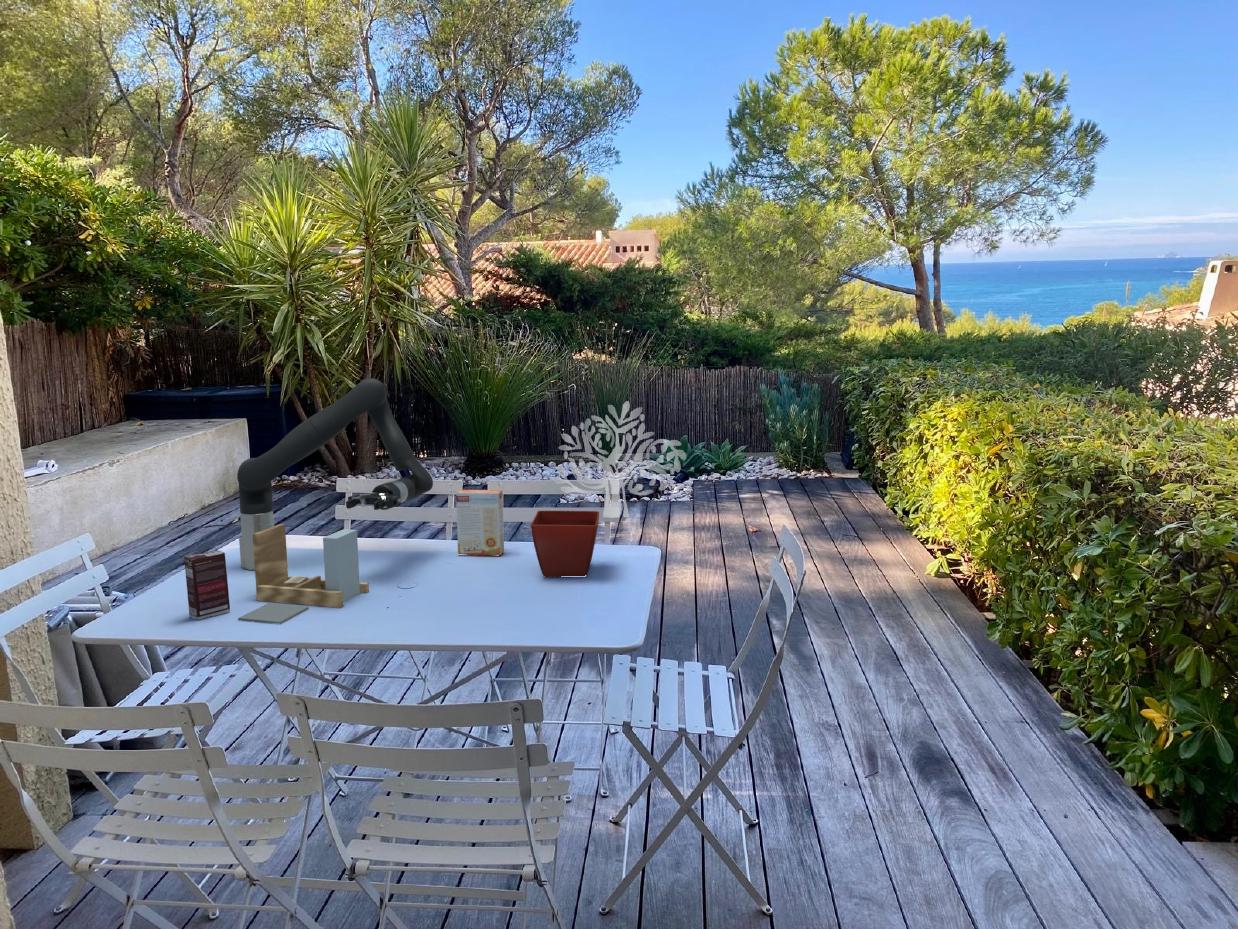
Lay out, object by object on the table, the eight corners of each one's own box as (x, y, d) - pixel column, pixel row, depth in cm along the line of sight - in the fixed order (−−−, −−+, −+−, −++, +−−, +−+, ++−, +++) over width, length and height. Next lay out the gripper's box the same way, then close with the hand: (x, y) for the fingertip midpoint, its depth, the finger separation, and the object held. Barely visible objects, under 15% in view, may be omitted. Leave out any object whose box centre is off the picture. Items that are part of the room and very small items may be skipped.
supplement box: (221, 608, 223) (217, 549, 221) (230, 612, 220) (226, 552, 218) (187, 617, 217) (183, 556, 214) (196, 621, 214) (191, 559, 211)
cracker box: (504, 552, 279) (503, 489, 276) (500, 557, 273) (498, 493, 270) (462, 551, 281) (460, 488, 277) (457, 556, 275) (455, 492, 272)
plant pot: (597, 581, 247) (596, 524, 245) (531, 581, 248) (530, 524, 245) (599, 563, 266) (599, 510, 263) (538, 563, 266) (537, 510, 264)
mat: (238, 620, 214) (238, 618, 214) (268, 605, 226) (268, 603, 226) (280, 624, 211) (280, 622, 211) (308, 609, 223) (308, 606, 223)
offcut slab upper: (284, 589, 232) (284, 582, 232) (293, 583, 238) (293, 576, 238) (298, 590, 232) (298, 582, 232) (307, 583, 238) (307, 576, 238)
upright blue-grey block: (326, 603, 227) (322, 537, 224) (347, 592, 237) (343, 529, 234) (339, 605, 226) (336, 538, 223) (359, 593, 236) (356, 530, 233)
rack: (253, 600, 230) (249, 535, 227) (286, 584, 244) (283, 523, 241) (340, 607, 224) (336, 540, 221) (369, 591, 238) (366, 528, 235)
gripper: (367, 481, 255) (337, 491, 240) (411, 483, 252) (383, 493, 236) (369, 506, 256) (339, 517, 241) (412, 508, 253) (385, 520, 237)
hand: (361, 505), depth 238 cm, fingers open, 8 cm apart
